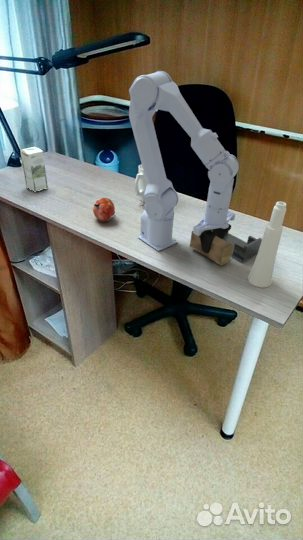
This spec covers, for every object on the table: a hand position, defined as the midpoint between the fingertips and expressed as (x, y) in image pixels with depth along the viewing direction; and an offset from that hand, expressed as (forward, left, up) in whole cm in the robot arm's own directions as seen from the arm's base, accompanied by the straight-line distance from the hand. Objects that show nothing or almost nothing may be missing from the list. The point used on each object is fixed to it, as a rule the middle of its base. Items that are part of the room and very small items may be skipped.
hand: (210, 248), depth 98 cm
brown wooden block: (0, 0, -2) cm, 2 cm away
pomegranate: (-35, -11, -3) cm, 37 cm away
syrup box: (-69, -18, -3) cm, 72 cm away
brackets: (0, +9, -3) cm, 9 cm away
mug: (-38, +8, -3) cm, 39 cm away
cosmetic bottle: (+16, +2, -3) cm, 16 cm away
